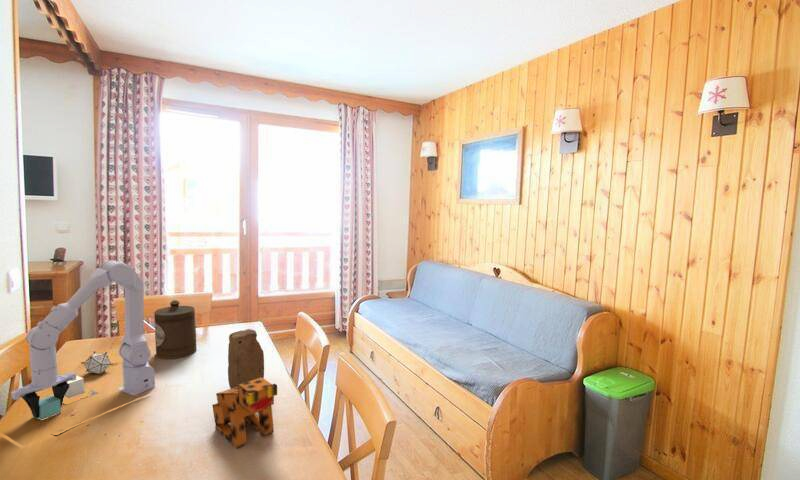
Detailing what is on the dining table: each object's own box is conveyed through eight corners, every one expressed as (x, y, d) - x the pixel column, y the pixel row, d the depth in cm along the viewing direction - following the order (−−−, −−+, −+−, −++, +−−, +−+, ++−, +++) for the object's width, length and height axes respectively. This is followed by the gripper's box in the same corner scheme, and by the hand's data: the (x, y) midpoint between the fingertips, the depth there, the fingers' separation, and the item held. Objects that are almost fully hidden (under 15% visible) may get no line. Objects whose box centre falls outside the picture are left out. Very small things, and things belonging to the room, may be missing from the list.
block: (234, 397, 133) (233, 337, 131) (226, 388, 139) (225, 331, 137) (266, 387, 140) (265, 331, 138) (257, 379, 146) (257, 325, 144)
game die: (96, 386, 146) (79, 372, 139) (88, 372, 151) (72, 357, 144) (121, 369, 151) (107, 354, 144) (113, 355, 155) (98, 341, 148)
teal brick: (61, 415, 120) (59, 399, 119) (41, 422, 116) (40, 406, 115) (53, 411, 122) (51, 395, 121) (33, 418, 118) (32, 402, 117)
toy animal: (247, 412, 124) (246, 361, 122) (282, 439, 110) (281, 383, 109) (212, 425, 116) (210, 372, 115) (244, 457, 103) (243, 396, 101)
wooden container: (158, 348, 173) (156, 298, 171) (197, 344, 179) (195, 295, 177) (153, 361, 160) (151, 306, 158) (195, 356, 166) (194, 303, 164)
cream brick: (84, 393, 132) (83, 378, 132) (68, 399, 128) (67, 383, 128) (77, 389, 134) (76, 375, 134) (60, 395, 130) (59, 380, 130)
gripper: (66, 356, 125) (69, 398, 127) (4, 374, 113) (8, 420, 114) (78, 360, 122) (81, 403, 124) (16, 379, 109) (20, 427, 111)
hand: (47, 412), depth 119 cm, fingers closed on teal brick, 5 cm apart
